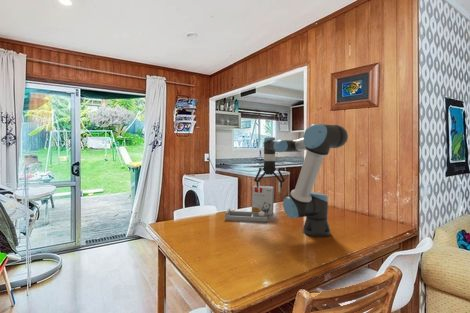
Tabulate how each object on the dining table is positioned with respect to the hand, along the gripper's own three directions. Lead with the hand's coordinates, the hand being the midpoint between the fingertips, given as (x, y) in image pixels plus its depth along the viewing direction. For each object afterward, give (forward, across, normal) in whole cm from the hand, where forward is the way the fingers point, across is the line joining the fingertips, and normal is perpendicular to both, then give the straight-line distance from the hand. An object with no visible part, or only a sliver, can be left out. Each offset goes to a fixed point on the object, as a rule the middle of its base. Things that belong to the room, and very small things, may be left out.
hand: (269, 192), depth 172 cm
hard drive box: (+20, +3, -20) cm, 28 cm away
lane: (+19, +15, -4) cm, 25 cm away
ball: (+16, +5, -3) cm, 17 cm away
